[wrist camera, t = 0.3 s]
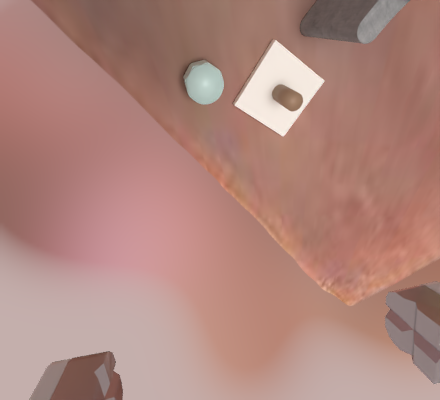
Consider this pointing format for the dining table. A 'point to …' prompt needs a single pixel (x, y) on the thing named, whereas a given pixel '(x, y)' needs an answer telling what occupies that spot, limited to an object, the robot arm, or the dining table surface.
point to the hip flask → (349, 19)
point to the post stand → (278, 89)
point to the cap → (203, 82)
